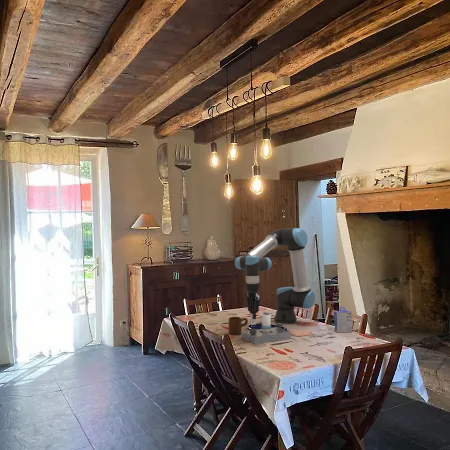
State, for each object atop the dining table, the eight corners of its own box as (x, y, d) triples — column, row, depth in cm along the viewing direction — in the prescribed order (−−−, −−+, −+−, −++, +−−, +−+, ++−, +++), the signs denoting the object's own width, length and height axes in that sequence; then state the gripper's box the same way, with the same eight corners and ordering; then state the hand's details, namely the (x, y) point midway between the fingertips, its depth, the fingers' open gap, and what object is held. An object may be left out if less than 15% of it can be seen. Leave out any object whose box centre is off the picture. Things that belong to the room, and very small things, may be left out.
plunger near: (248, 338, 255) (248, 329, 255) (254, 337, 257) (254, 328, 257) (251, 339, 251) (251, 330, 251) (257, 339, 253) (257, 329, 253)
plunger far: (274, 332, 263) (274, 323, 263) (280, 331, 265) (280, 322, 265) (278, 333, 260) (278, 324, 260) (284, 332, 262) (284, 323, 262)
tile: (285, 333, 272) (285, 332, 272) (301, 330, 278) (301, 329, 278) (298, 337, 261) (297, 336, 261) (314, 334, 267) (314, 333, 267)
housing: (242, 338, 259) (242, 331, 259) (276, 333, 270) (276, 327, 270) (255, 344, 246) (255, 336, 246) (290, 338, 258) (290, 331, 258)
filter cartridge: (260, 338, 259) (260, 312, 259) (267, 337, 262) (267, 311, 262) (265, 340, 255) (264, 313, 255) (272, 339, 257) (272, 313, 257)
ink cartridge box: (349, 330, 279) (348, 306, 279) (352, 332, 273) (352, 308, 273) (333, 330, 277) (333, 307, 277) (337, 332, 272) (336, 308, 272)
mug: (246, 331, 278) (246, 316, 278) (249, 334, 270) (249, 318, 270) (227, 332, 275) (227, 317, 275) (230, 335, 267) (230, 319, 267)
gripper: (241, 282, 258) (241, 323, 258) (253, 284, 247) (253, 327, 247) (252, 281, 262) (252, 321, 262) (264, 283, 250) (265, 325, 250)
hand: (253, 324), depth 254 cm, fingers closed
